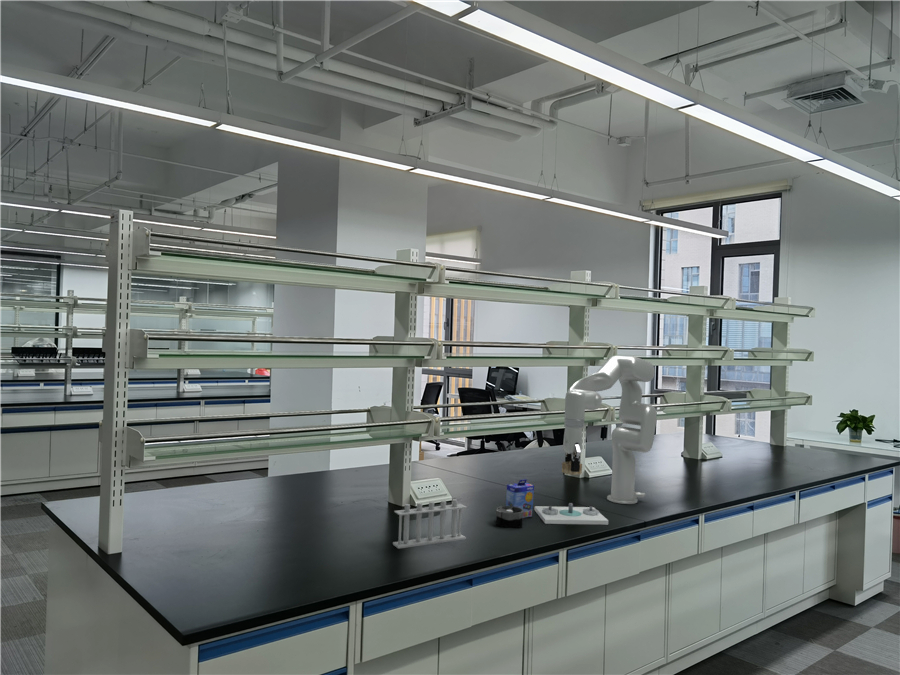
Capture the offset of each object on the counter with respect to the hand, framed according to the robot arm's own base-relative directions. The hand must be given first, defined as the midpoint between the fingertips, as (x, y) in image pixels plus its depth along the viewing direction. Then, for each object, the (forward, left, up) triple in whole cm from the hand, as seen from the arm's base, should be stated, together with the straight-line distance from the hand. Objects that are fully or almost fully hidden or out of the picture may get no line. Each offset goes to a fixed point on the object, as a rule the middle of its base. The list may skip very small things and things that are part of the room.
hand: (571, 469), depth 250 cm
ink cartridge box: (+20, 0, -19) cm, 27 cm away
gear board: (0, 0, -19) cm, 19 cm away
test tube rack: (+56, +31, -19) cm, 66 cm away
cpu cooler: (+25, +10, -19) cm, 33 cm away
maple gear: (0, 0, -1) cm, 1 cm away
